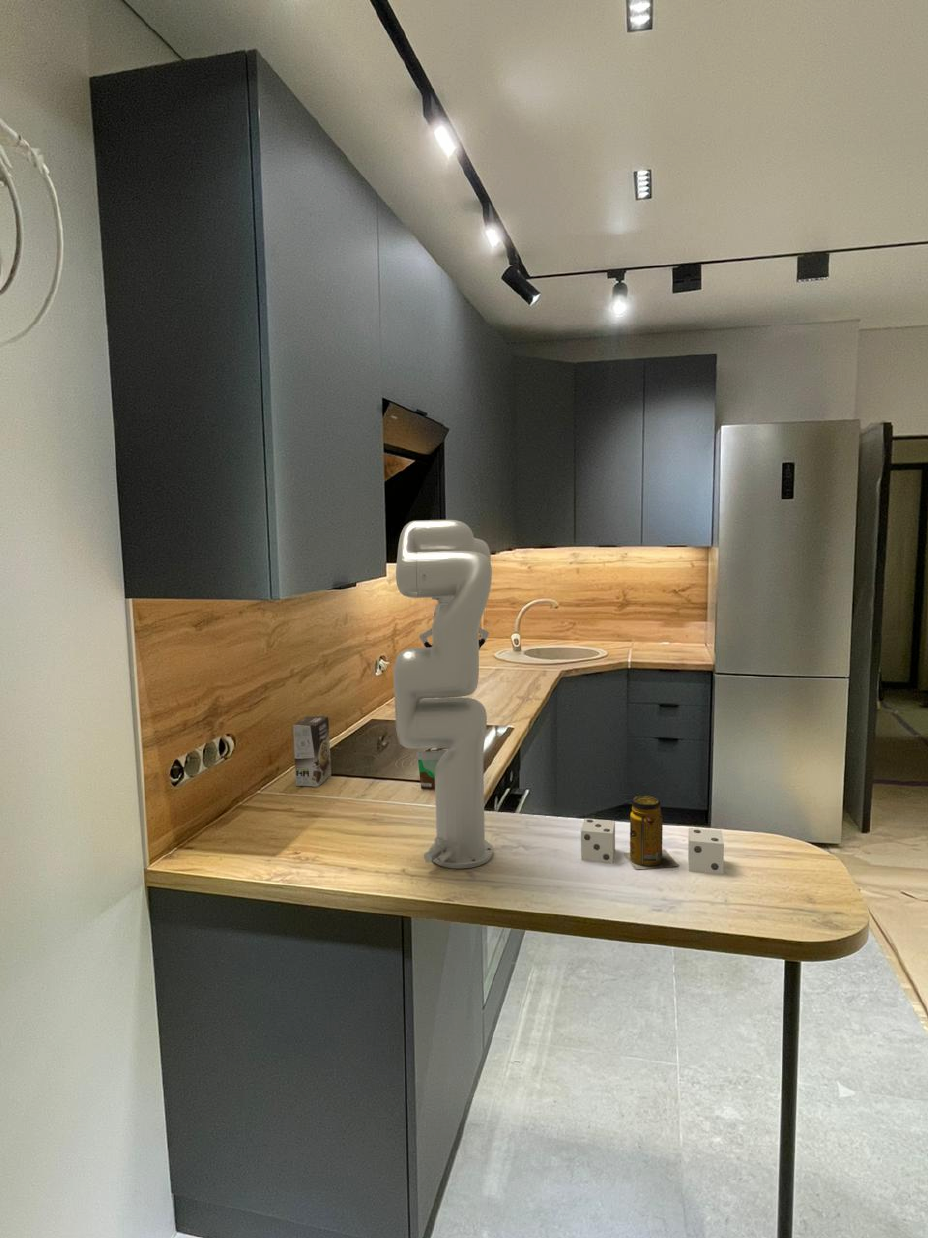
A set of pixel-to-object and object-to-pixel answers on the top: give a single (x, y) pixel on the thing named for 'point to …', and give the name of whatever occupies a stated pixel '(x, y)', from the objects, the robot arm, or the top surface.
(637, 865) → the condiment
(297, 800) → the top surface
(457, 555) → the robot arm
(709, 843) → the two dot block
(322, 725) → the coffee box
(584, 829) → the three dot block
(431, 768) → the food container
